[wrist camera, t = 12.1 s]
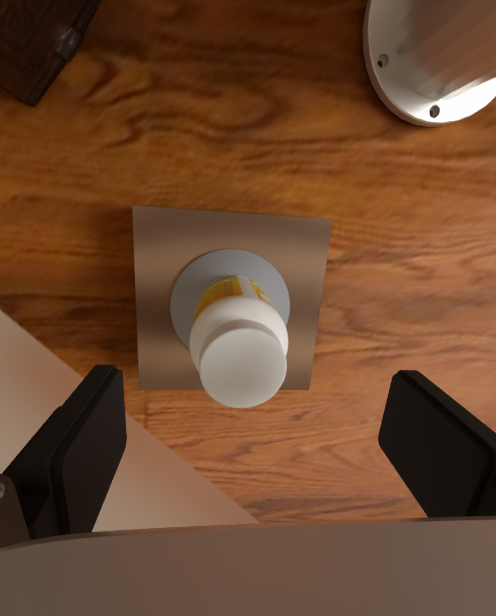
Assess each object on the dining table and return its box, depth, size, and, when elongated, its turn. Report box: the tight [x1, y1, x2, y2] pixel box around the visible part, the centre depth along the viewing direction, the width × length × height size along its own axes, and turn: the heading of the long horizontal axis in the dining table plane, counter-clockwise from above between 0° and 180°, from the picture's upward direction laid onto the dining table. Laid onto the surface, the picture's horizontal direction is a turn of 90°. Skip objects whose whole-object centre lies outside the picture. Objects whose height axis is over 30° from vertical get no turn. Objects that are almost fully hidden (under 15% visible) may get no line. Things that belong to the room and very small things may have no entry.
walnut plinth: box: [132, 205, 332, 390], centre depth 25 cm, size 14×14×4 cm
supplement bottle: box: [189, 275, 288, 408], centre depth 18 cm, size 5×5×10 cm
